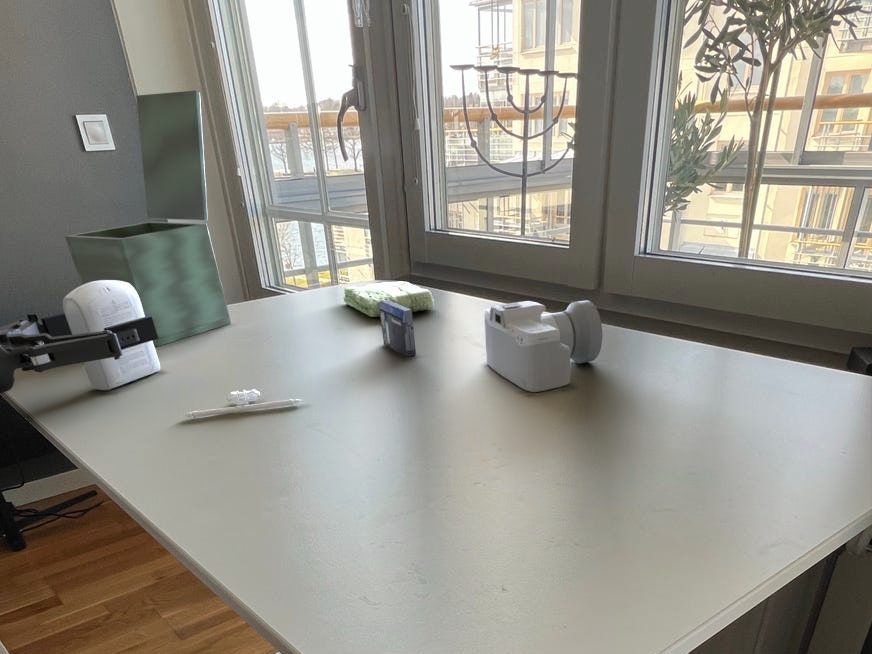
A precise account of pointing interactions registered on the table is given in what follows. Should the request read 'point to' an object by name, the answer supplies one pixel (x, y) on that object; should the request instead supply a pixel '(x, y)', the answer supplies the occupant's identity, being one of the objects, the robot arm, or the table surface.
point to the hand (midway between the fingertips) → (121, 322)
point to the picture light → (242, 404)
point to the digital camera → (540, 342)
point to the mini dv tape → (397, 327)
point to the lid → (173, 155)
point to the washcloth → (387, 297)
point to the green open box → (158, 273)
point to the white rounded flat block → (106, 308)
